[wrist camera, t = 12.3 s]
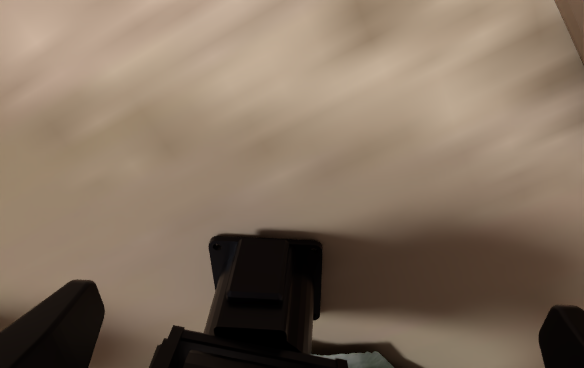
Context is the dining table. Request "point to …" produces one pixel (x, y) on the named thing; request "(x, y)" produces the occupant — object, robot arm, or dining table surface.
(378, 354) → the rose bouquet
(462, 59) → the dining table surface
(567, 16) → the brown flat piece
